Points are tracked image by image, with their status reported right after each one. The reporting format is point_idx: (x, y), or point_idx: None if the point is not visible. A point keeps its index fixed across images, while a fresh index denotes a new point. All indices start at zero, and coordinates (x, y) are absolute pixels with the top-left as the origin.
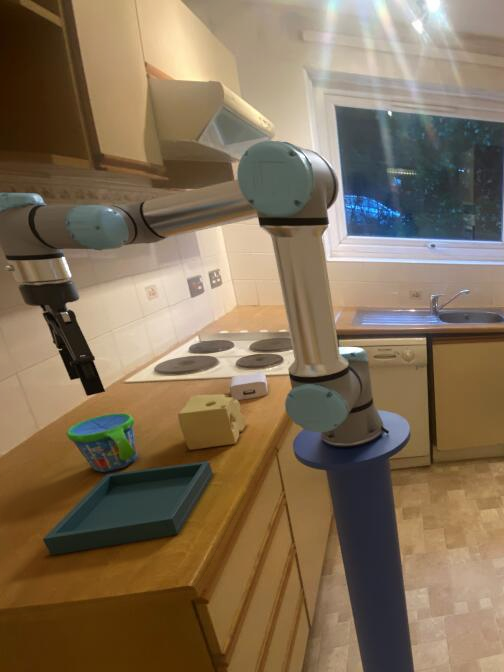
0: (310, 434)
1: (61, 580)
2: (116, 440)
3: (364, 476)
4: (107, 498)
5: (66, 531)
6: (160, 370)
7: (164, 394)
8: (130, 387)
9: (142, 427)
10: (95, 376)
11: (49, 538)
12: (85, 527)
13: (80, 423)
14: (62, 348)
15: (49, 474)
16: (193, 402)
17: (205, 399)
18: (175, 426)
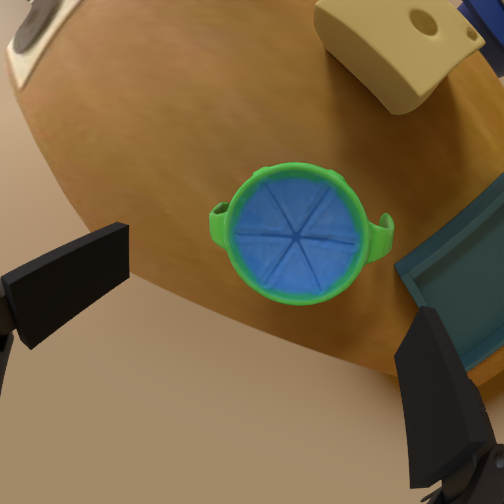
0: (492, 13)
1: (484, 368)
2: (389, 250)
3: None
4: (428, 293)
5: None
6: (24, 47)
7: (83, 46)
8: (34, 84)
9: (177, 105)
10: (474, 387)
11: None
12: (457, 336)
13: (234, 256)
14: (10, 328)
15: (234, 277)
16: (375, 27)
17: (381, 4)
18: (235, 63)
